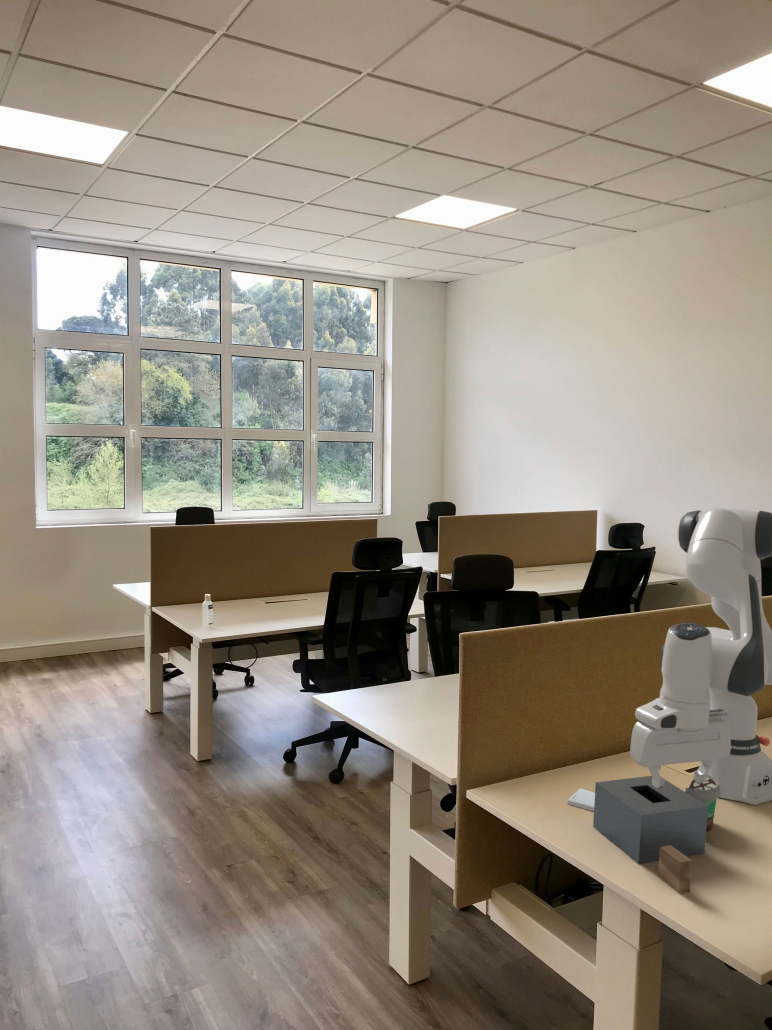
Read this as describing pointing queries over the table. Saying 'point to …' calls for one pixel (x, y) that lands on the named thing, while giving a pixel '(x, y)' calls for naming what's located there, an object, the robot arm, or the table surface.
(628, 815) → the coin box
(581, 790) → the hard drive
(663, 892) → the table surface
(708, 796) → the food container
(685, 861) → the walnut tile
